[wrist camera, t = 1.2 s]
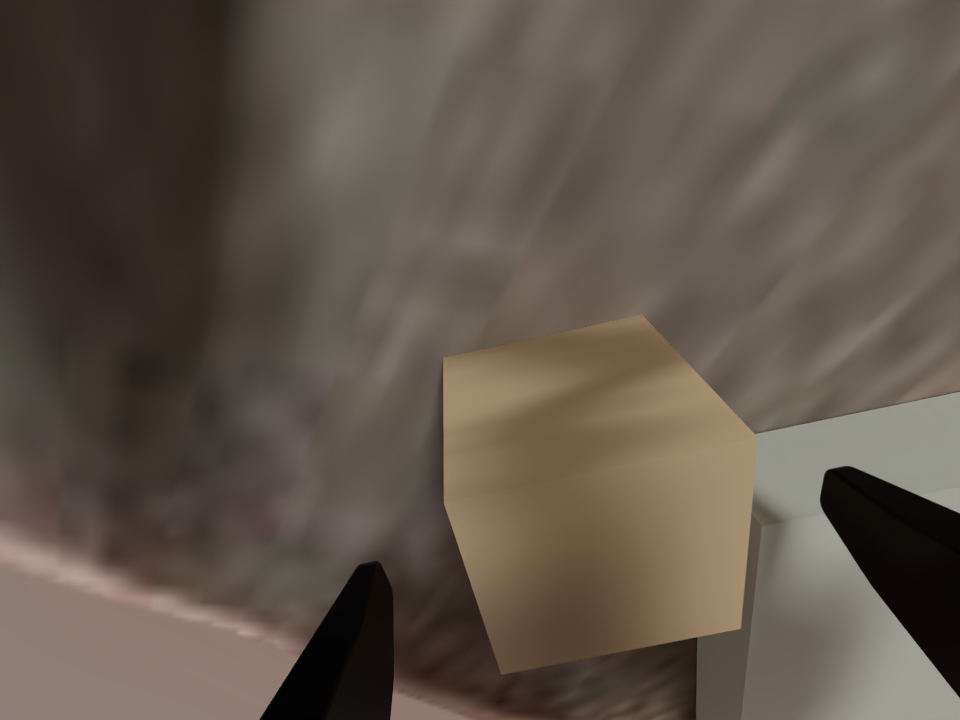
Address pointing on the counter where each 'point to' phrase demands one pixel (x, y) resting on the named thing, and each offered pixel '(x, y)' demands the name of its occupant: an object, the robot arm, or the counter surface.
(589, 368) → the pine cube
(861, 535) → the robot arm
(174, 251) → the counter surface
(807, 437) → the plinth
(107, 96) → the counter surface
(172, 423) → the counter surface
